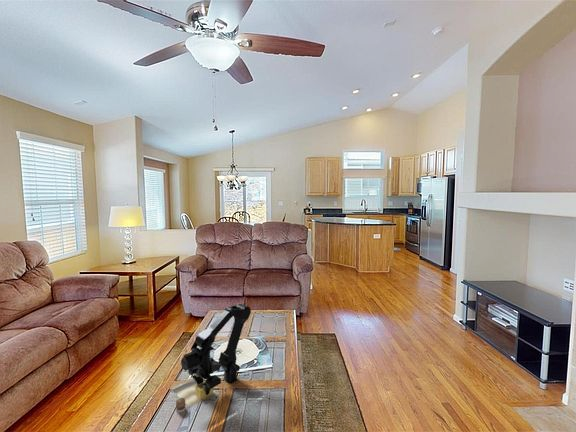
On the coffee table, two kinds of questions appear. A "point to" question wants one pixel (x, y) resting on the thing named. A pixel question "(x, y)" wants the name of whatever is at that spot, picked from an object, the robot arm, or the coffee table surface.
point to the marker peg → (180, 405)
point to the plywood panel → (188, 392)
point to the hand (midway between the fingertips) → (204, 392)
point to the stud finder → (202, 391)
